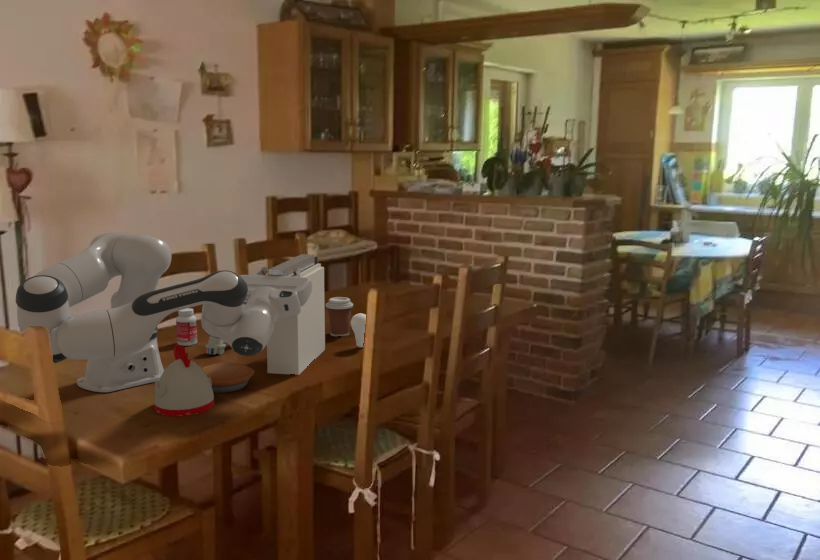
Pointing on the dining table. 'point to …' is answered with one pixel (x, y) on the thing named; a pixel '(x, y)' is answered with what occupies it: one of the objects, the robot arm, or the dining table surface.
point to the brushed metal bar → (293, 265)
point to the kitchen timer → (183, 387)
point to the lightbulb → (359, 328)
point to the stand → (300, 331)
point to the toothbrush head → (215, 346)
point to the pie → (228, 376)
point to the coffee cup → (339, 315)
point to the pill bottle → (186, 327)
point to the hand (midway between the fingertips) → (280, 269)
